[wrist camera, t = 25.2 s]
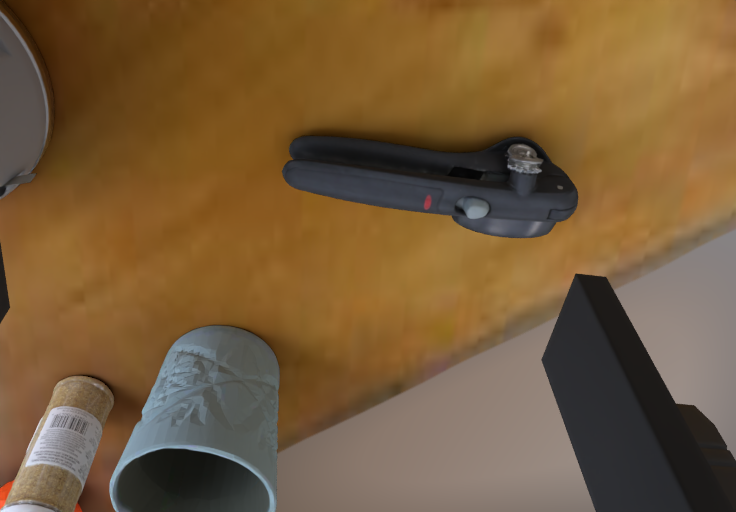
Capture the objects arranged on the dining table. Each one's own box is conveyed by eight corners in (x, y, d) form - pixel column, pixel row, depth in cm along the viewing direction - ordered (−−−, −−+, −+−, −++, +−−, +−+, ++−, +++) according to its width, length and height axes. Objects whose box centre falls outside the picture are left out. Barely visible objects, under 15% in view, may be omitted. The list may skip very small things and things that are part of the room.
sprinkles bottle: (44, 398, 54) (-31, 558, 43) (71, 363, 52) (0, 520, 41) (99, 423, 56) (40, 582, 45) (127, 390, 54) (73, 547, 43)
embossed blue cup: (303, 400, 56) (297, 535, 46) (183, 426, 57) (151, 563, 47) (260, 302, 50) (242, 431, 40) (128, 333, 51) (77, 466, 41)
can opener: (577, 134, 44) (606, 176, 39) (542, 228, 47) (565, 277, 43) (292, 89, 41) (287, 128, 37) (279, 192, 45) (273, 240, 40)
